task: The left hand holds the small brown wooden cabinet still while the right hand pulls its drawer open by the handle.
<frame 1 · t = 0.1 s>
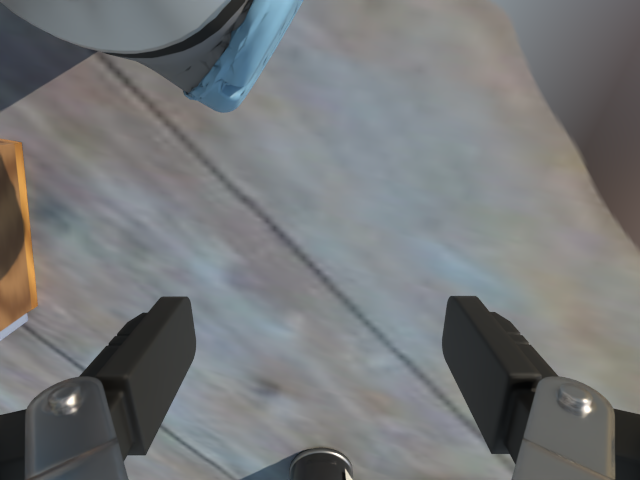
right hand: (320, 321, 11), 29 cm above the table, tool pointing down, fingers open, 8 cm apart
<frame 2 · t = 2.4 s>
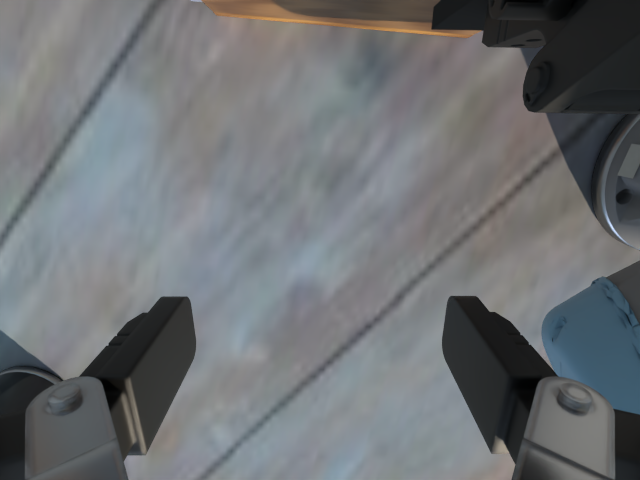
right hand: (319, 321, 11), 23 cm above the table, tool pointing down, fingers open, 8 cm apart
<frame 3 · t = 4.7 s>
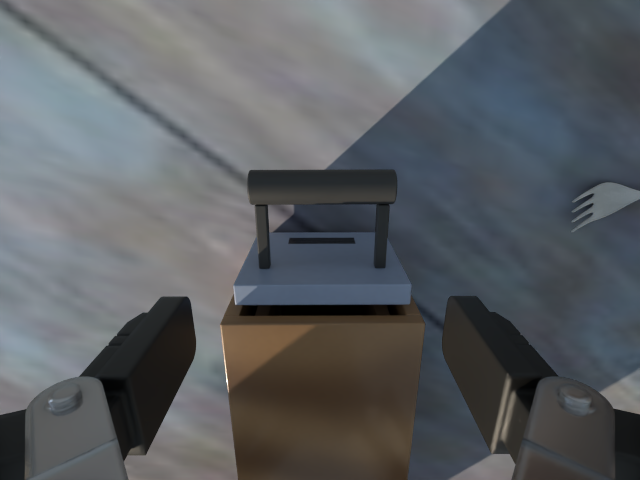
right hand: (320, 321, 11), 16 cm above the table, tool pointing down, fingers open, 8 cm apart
cabinet: (321, 357, 31), on the table, touching left hand
drawer: (322, 345, 24), point 5 cm above the table, slide at 0.5 cm
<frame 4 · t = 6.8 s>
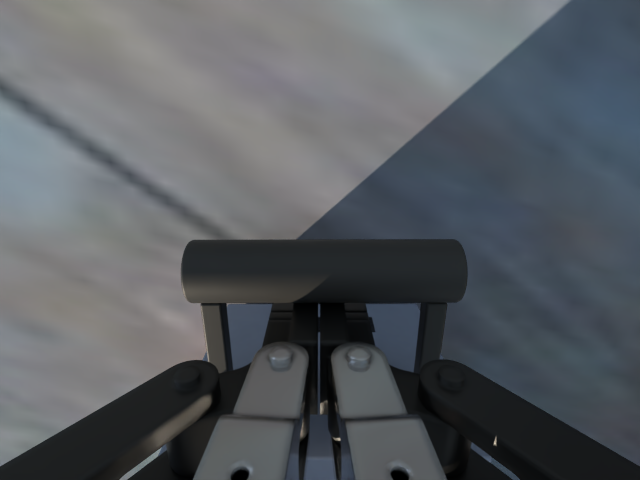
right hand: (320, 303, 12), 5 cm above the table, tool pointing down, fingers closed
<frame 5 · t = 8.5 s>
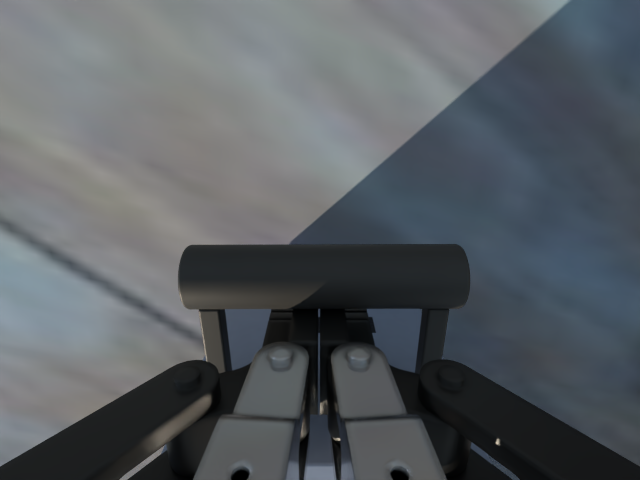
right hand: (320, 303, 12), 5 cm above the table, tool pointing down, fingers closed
when the left hand's fingers open (5 cm above the table, at t = 10.4 s): cabinet stays where it is, on the table.
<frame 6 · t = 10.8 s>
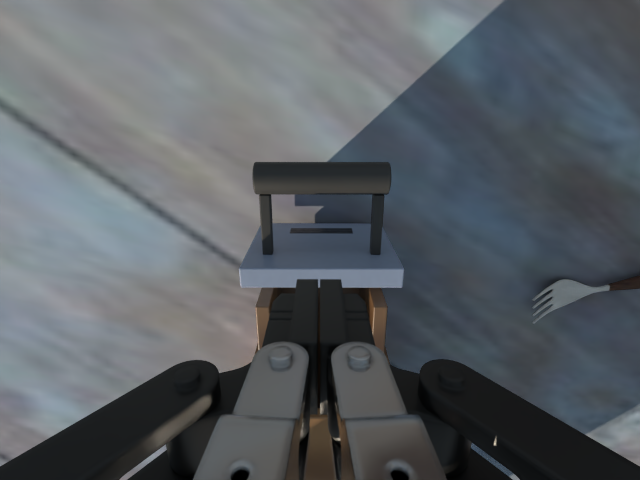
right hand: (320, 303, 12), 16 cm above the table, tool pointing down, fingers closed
cabinet: (320, 413, 35), on the table
drawer: (321, 329, 26), point 5 cm above the table, slide at 8.4 cm
fork: (616, 281, 30), on the table
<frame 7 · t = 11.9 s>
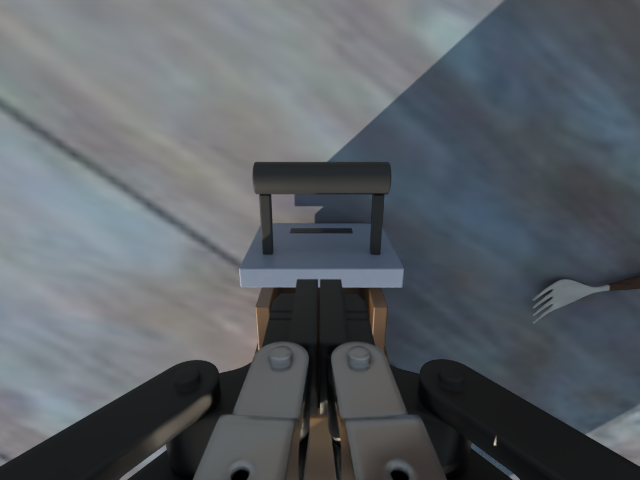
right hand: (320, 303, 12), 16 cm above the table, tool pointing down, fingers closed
cabinet: (320, 413, 35), on the table
drawer: (321, 329, 26), point 5 cm above the table, slide at 8.4 cm
fork: (616, 281, 30), on the table
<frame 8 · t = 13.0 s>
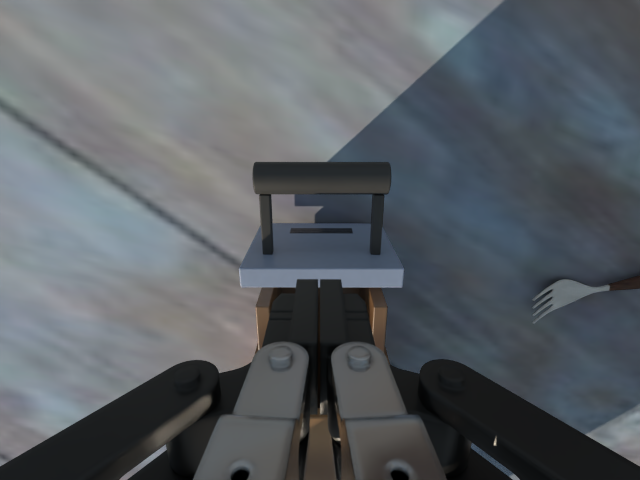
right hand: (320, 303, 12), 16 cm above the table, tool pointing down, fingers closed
cabinet: (320, 413, 35), on the table
drawer: (321, 329, 26), point 5 cm above the table, slide at 8.4 cm
fork: (616, 281, 30), on the table
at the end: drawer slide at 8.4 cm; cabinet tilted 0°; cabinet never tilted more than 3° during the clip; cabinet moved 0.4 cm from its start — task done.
